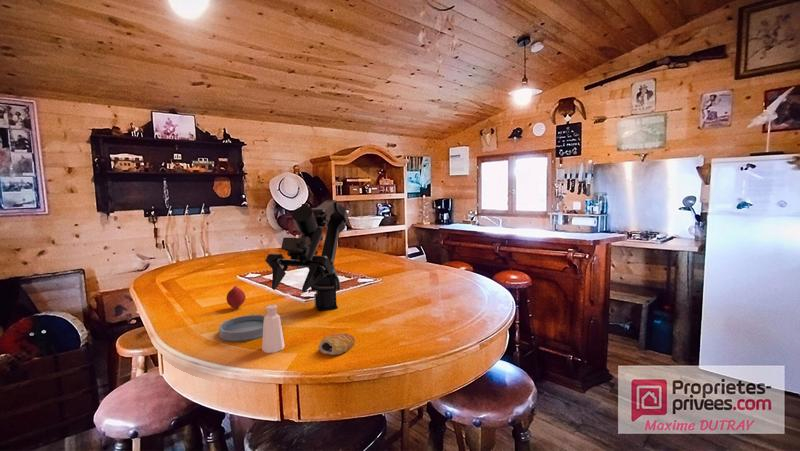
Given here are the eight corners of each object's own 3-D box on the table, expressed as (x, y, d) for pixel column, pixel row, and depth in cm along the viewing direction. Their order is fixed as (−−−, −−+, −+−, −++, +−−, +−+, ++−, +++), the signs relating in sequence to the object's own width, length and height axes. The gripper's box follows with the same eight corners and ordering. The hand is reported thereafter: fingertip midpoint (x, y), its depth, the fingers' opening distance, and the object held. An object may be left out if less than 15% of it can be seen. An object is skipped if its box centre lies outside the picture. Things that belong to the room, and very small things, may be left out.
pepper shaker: (257, 351, 92) (254, 308, 91) (271, 343, 97) (269, 301, 96) (275, 354, 90) (273, 310, 89) (289, 345, 95) (287, 303, 94)
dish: (271, 320, 114) (270, 312, 114) (275, 336, 101) (274, 327, 101) (220, 327, 109) (220, 319, 109) (218, 345, 96) (217, 336, 96)
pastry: (341, 339, 99) (341, 325, 99) (361, 344, 96) (361, 330, 95) (316, 352, 92) (315, 337, 91) (336, 359, 88) (336, 343, 87)
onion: (238, 311, 122) (237, 288, 122) (223, 310, 124) (221, 287, 123) (249, 306, 128) (248, 283, 127) (234, 305, 129) (233, 282, 129)
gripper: (267, 225, 105) (242, 272, 96) (326, 226, 100) (306, 276, 90) (285, 248, 114) (263, 293, 104) (340, 250, 108) (323, 298, 99)
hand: (287, 290), depth 99 cm, fingers open, 9 cm apart
